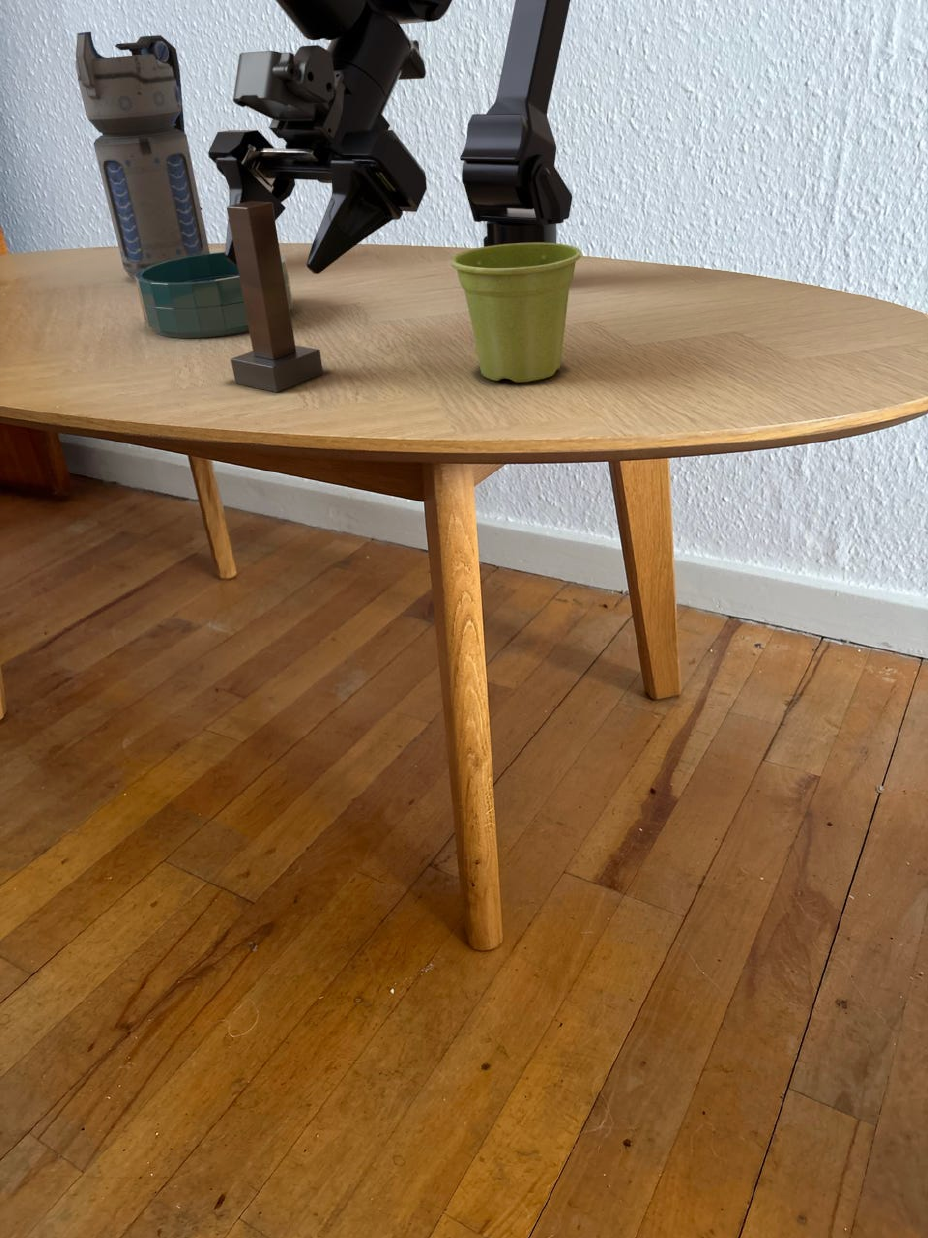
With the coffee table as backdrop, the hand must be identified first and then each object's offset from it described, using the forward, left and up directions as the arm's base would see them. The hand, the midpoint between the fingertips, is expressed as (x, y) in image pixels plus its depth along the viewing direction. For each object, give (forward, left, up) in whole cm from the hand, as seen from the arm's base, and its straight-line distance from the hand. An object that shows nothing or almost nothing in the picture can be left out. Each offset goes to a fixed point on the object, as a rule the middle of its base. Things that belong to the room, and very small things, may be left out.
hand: (269, 265), depth 73 cm
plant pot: (-18, -6, -9) cm, 21 cm away
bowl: (+18, -13, -8) cm, 24 cm away
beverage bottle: (+39, -29, -9) cm, 50 cm away
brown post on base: (0, +1, -8) cm, 9 cm away
